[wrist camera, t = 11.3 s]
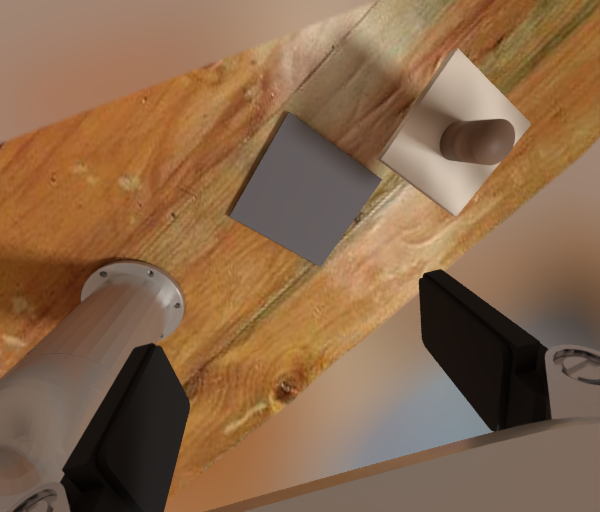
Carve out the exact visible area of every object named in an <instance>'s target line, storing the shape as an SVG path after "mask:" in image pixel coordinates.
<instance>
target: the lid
mask: <svg viewBox="0 0 600 512" xmlns="http://www.w3.org/2000/svg"><path fill="white" fill-rule="evenodd" d="M530 125H531V123H530V122H529V121H528V120H527V119H526V118H525V117H524V116H523V115H522V114H521V113H520V112H519V111H518V110H517V109H516V108H515V107H514V106H513V105H512V104H511V103H510V102H509V101H508V100H507V99H506V97H505V96H504V95H503V94H502V93H501V92H500V91H499V90H498V89H497V88H496V87H495V86H494V85H493V84H492V83H491V82H490V81H489V80H488V79H487V78H486V77H485V76H484V75H483V74H482V73H481V72H480V71H479V70H478V69H477V68H476V67H475V65H474V64H473V63H472V62H471V61H470V60H469V59H468V58H467V57H466V56H465V55H464V54H463V53H462V52H461V51H460V50H459V49H455V50H453V51H451V52H449V54H448V55H447V57H446V58H445V60H444V61H443V62H442V64H441V65H440V67H439V68H438V70H437V71H436V73H435V74H434V76H433V77H432V78H431V80H430V81H429V83H428V84H427V86H426V87H425V89H424V90H423V92H422V93H421V94H420V96H419V97H418V99H417V100H416V102H415V103H414V105H413V106H412V108H411V109H410V110H409V112H408V113H407V115H406V116H405V118H404V119H403V121H402V122H401V124H400V125H399V127H398V128H397V129H396V131H395V132H394V134H393V135H392V137H391V138H390V140H389V141H388V143H387V144H386V145H385V147H384V148H383V150H382V151H381V153H380V154H379V156H378V157H377V159H378V160H379V161H380V162H382V163H383V164H384V165H386V166H387V167H388V168H390V169H391V170H392V171H394V172H395V173H396V174H398V175H399V176H400V177H402V178H403V179H404V180H405V181H407V182H408V183H409V184H411V185H412V186H413V187H415V188H416V189H417V190H419V191H420V192H421V193H423V194H424V195H425V196H427V197H428V198H429V199H431V200H432V201H433V202H435V203H436V204H437V205H439V206H440V207H441V208H442V209H444V210H445V211H446V212H448V213H449V214H451V215H454V216H457V215H458V214H459V212H460V211H461V210H462V209H463V208H464V206H465V205H466V204H467V203H468V201H469V200H470V199H471V198H472V196H473V195H474V194H475V193H476V192H477V190H478V189H479V188H480V187H481V185H482V184H483V183H484V182H485V180H486V179H487V178H488V177H489V176H490V174H491V173H492V172H493V171H494V169H495V168H496V167H497V166H498V164H499V163H500V162H501V161H502V160H504V159H505V158H506V157H507V156H508V154H509V153H510V152H511V150H512V148H513V146H514V145H515V144H516V142H517V141H518V140H519V139H520V137H521V136H522V135H523V134H524V132H525V131H526V130H527V129H528V128H529V126H530Z"/></svg>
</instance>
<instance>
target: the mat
mask: <svg viewBox="0 0 600 512" xmlns="http://www.w3.org/2000/svg"><path fill="white" fill-rule="evenodd" d="M381 180H382V179H381V178H379V177H378V176H377V175H375V174H374V173H372V172H371V171H370V170H368V169H367V168H366V167H364V166H363V165H361V164H360V163H359V162H357V161H356V160H355V159H353V158H352V157H350V156H349V155H348V154H346V153H345V152H343V151H342V150H341V149H339V148H338V147H337V146H335V145H334V144H332V143H331V142H330V141H328V140H327V139H326V138H324V137H323V136H321V135H320V134H319V133H317V132H316V131H315V130H313V129H312V128H310V127H309V126H308V125H306V124H305V123H303V122H302V121H301V120H299V119H298V118H297V117H295V116H294V115H292V114H291V113H290V112H288V114H287V116H286V118H285V119H284V121H283V123H282V125H281V126H280V128H279V130H278V132H277V133H276V135H275V137H274V139H273V140H272V142H271V144H270V146H269V148H268V149H267V151H266V153H265V155H264V156H263V158H262V160H261V162H260V163H259V165H258V167H257V169H256V170H255V172H254V174H253V176H252V177H251V179H250V181H249V183H248V184H247V186H246V188H245V190H244V192H243V193H242V195H241V197H240V199H239V200H238V202H237V204H236V206H235V207H234V209H233V211H232V213H231V214H230V217H231V218H233V219H235V220H237V221H238V222H240V223H242V224H244V225H246V226H247V227H249V228H251V229H253V230H255V231H257V232H258V233H260V234H262V235H264V236H266V237H267V238H269V239H271V240H273V241H275V242H276V243H278V244H280V245H282V246H284V247H285V248H287V249H289V250H291V251H293V252H295V253H296V254H298V255H300V256H302V257H304V258H305V259H307V260H309V261H311V262H313V263H314V264H316V265H318V266H320V267H321V266H322V264H323V263H324V262H325V260H326V259H327V257H328V256H329V254H330V253H331V252H332V250H333V249H334V247H335V246H336V244H337V243H338V242H339V240H340V239H341V237H342V236H343V235H344V233H345V232H346V230H347V229H348V227H349V226H350V225H351V223H352V222H353V220H354V219H355V217H356V216H357V215H358V213H359V212H360V210H361V209H362V207H363V206H364V205H365V203H366V202H367V200H368V199H369V197H370V196H371V195H372V193H373V192H374V190H375V189H376V188H377V186H378V185H379V183H380V182H381Z"/></svg>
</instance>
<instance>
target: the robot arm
mask: <svg viewBox="0 0 600 512" xmlns="http://www.w3.org/2000/svg"><path fill="white" fill-rule="evenodd" d="M151 271H152V272H151ZM419 294H420V311H421V332H422V340H423V343H424V345H425V347H426V348H427V350H428V351H429V352H430V354H431V355H432V356H433V357H434V359H435V360H436V361H437V362H438V364H439V365H440V366H441V367H442V369H443V370H444V371H445V373H446V374H447V375H448V376H449V378H450V379H451V380H452V382H453V383H454V384H455V385H456V387H457V388H458V389H459V390H460V392H461V393H462V394H463V395H464V397H465V398H466V399H467V401H468V402H469V403H470V404H471V405H472V407H473V408H474V409H475V411H476V412H477V413H478V415H479V416H480V417H481V418H482V419H483V421H484V422H485V424H486V425H487V426H488V427H489V428H490V429H491V430H492V431H494V432H492V433H488V434H484V435H481V436H476V437H473V438H469V439H465V440H461V441H457V442H453V443H450V444H446V445H443V446H439V447H435V448H431V449H428V450H424V451H420V452H417V453H413V454H410V455H406V456H402V457H398V458H395V459H391V460H387V461H384V462H380V463H376V464H373V465H369V466H365V467H362V468H358V469H355V470H351V471H348V472H344V473H340V474H337V475H333V476H330V477H326V478H322V479H319V480H315V481H312V482H308V483H305V484H301V485H297V486H294V487H290V488H287V489H283V490H279V491H276V492H272V493H269V494H265V495H261V496H258V497H255V498H251V499H247V500H244V501H241V502H237V503H233V504H230V505H226V506H223V507H219V508H216V509H212V510H209V511H205V512H600V352H598V351H596V350H593V349H590V348H586V347H582V346H577V345H557V346H555V347H552V348H550V349H547V348H546V347H545V346H543V345H542V344H541V343H540V341H538V340H537V339H535V338H534V337H533V336H532V335H530V334H528V333H527V332H526V331H525V330H523V329H522V328H521V327H519V326H518V325H517V324H515V323H514V322H512V321H511V320H510V319H508V318H507V317H506V316H504V315H503V314H501V313H500V312H499V311H497V310H496V309H495V308H493V307H492V306H490V305H489V304H488V303H486V302H485V301H484V300H482V299H481V298H480V297H478V296H477V295H476V294H474V293H473V292H472V291H470V290H469V289H467V288H466V287H465V286H463V285H462V284H461V283H459V282H458V281H457V280H455V279H454V278H452V277H451V276H450V275H448V274H447V273H446V272H444V271H443V270H441V269H439V270H435V271H431V272H427V273H424V274H423V278H420V279H419ZM80 299H81V303H80V304H79V305H78V306H77V307H76V308H75V309H74V310H73V311H72V312H71V313H70V314H69V315H68V316H66V317H65V318H64V319H63V320H62V321H61V322H60V323H59V324H58V325H57V326H56V327H55V328H54V329H53V330H52V331H51V332H49V333H48V334H47V335H46V336H45V337H44V338H43V339H42V340H41V341H40V342H39V343H38V344H37V345H36V346H35V347H33V348H32V349H31V350H30V351H29V352H28V353H27V354H26V355H25V356H24V357H23V358H22V359H21V360H20V361H19V362H17V363H16V364H15V365H14V366H13V367H12V368H11V369H10V370H9V371H8V372H7V373H6V374H5V375H3V376H2V377H1V378H0V512H164V509H165V505H166V501H167V497H168V493H169V489H170V485H171V481H172V477H173V473H174V469H175V465H176V461H177V457H178V453H179V450H180V446H181V442H182V438H183V434H184V430H185V426H186V422H187V418H188V414H189V410H190V403H189V399H188V397H187V395H186V393H185V391H184V389H183V388H182V386H181V384H180V382H179V380H178V378H177V376H176V374H175V372H174V370H173V368H172V366H171V364H170V362H169V361H168V359H167V357H166V355H165V353H164V351H163V349H162V347H161V346H156V345H157V343H158V341H161V340H163V339H165V338H166V337H168V336H170V335H171V334H172V333H173V332H174V331H175V330H176V329H177V327H178V326H179V324H180V322H181V320H182V318H183V315H184V311H185V301H184V296H183V293H182V291H181V289H180V287H179V286H178V284H177V283H176V281H175V280H174V279H173V278H172V277H171V276H170V275H169V274H167V273H166V272H164V271H163V270H162V269H160V268H158V267H156V266H154V265H151V264H148V263H145V262H140V261H134V260H122V261H117V262H112V263H109V264H107V265H104V266H103V267H101V268H99V269H98V270H96V271H95V272H94V273H93V274H92V275H90V277H89V278H88V279H87V280H86V282H85V283H84V286H83V288H82V291H81V297H80Z"/></svg>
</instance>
